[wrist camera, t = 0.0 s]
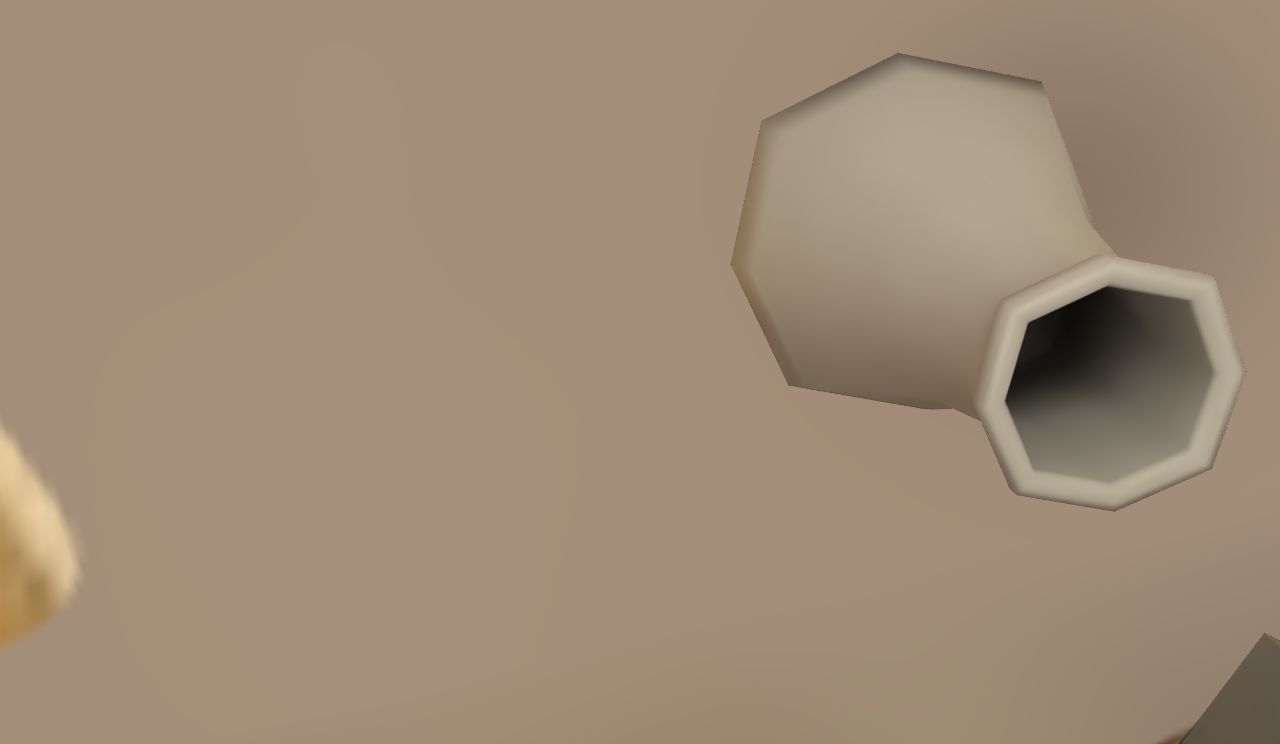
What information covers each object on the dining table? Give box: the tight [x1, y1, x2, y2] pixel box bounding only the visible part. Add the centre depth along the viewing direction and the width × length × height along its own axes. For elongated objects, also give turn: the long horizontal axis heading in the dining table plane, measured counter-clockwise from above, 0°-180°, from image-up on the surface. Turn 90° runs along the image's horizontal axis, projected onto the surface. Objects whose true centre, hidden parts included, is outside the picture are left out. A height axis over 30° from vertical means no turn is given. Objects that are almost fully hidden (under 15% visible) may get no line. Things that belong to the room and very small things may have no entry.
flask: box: [731, 53, 1247, 512], centre depth 18 cm, size 7×7×10 cm
